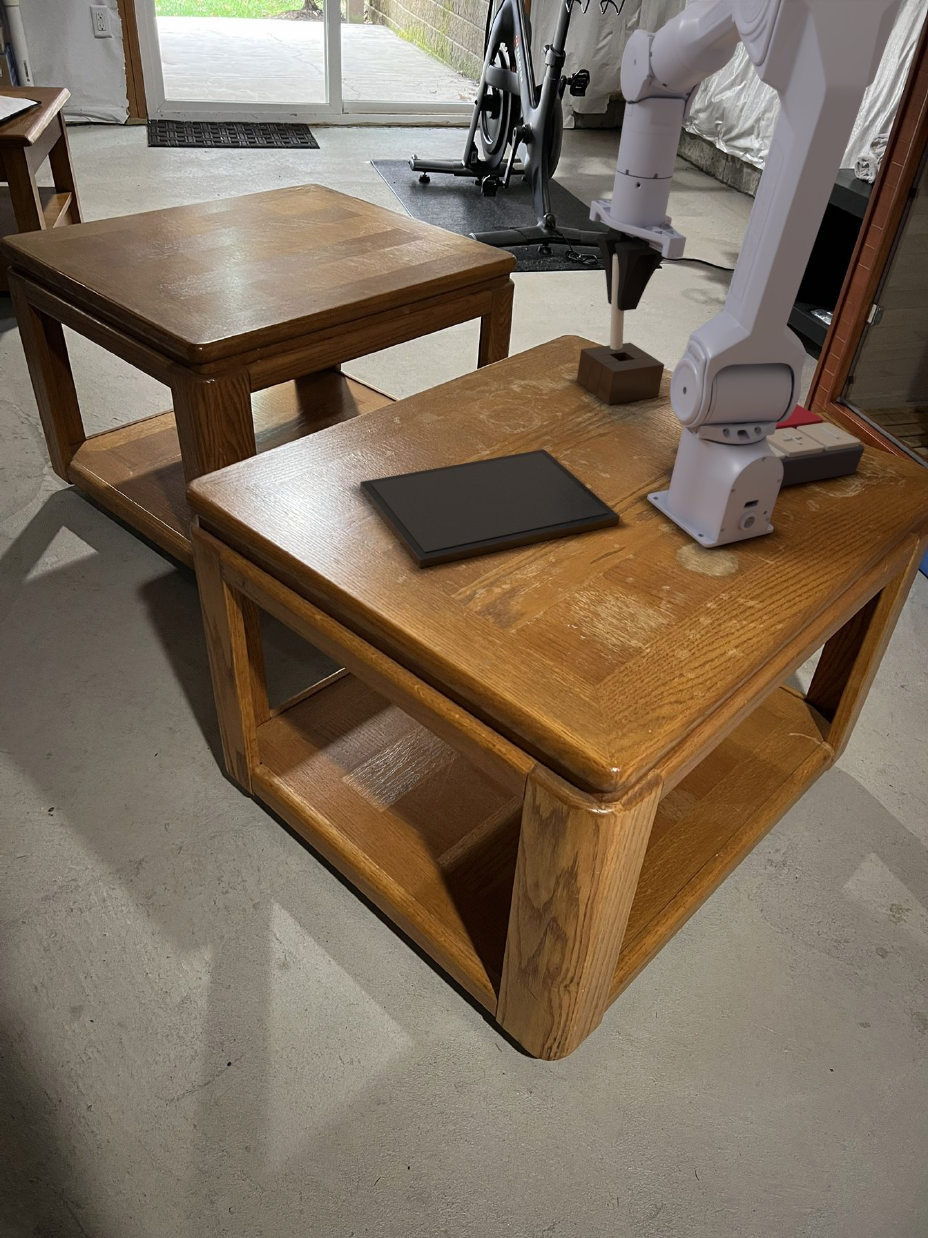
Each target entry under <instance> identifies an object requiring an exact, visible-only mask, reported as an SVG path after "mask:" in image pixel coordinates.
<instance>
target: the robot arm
mask: <svg viewBox="0 0 928 1238" xmlns="http://www.w3.org/2000/svg"><path fill="white" fill-rule="evenodd" d="M901 3H902V0H688V6H687V7H686V8H685V9H683V10H682V11H680V13H678V14H677V15H676V16H674V17H671V18H670V19H668V20H667V21H666V23H665V25H663V26H662V27H661V28H659V29H658V30H657V31H656V32H648V31H647V30H646V29H640V28H639V29H635V30H634V31H633V33H632V34H631V35H630V36H629V38H628V40H627V41H626V44H625V47H624V50H623V54H622V60H621V64H620V89H621V93H622V97H623V99H624V100H625V107H624V108H625V109H624V114H623V115H624V116H623V122H622V128H621V135H620V142H619V147H618V148H619V149H618V155H617V161H616V162H617V163H616V169H615V176H614V182H613V189H612V196H611V200H608V199H598V200H591V202H590V203H591V204H590V211H589V218H588V219H589V220H590V221H592V222H600V223H602V224H604V225H606V226H608V227H609V230H607V232H606V233H599V234H597V236H596V243H597V246H598V248H599V251H600V254H601V259H602V261H603V267H604V273H605V281H606V282H605V283H606V294H607V303H608V304H609V305H611V301H612V268H613V255H614V254H615V253H617V257H618V264H619V286H618V297H617V305H618V309H619V310H621V311H624V312H627V311H634V310H637V308H638V305H639V304H640V301H641V299H642V297H643V295H644V292H645V290H646V287H647V285H648V283H649V282H650V280H651V278H652V277H653V275H654V273H655V271H656V270H657V268H658V267H659V265H660V264H661V263H662V262H663V261H664V259H676V258H683V257H684V252H685V247H686V241H687V236H685V235H683V234H681V233H679V232H678V231H677V230H676V229H675V227H673V226H672V220H673V217H671V216H669V215H667V209H668V205H669V204H668V203H669V199H670V193H671V187H672V182H673V176H674V171H675V166H676V160H677V154H678V149H679V143H680V138H681V133H682V128H683V126H684V125H686V124H687V123H688V120H689V119H690V116H691V115H690V114H691V110H692V105H693V103H694V100H695V99H696V97H697V95H698V93H699V90H700V88H701V85H702V82H703V81H705V80H706V79H708V78H709V77H711V76H712V75H714V74H716V73H718V72H719V71H720V70H722V69H723V68H725V67H726V66H727V65H728V64H729V63H730V62H731V60H732V59H733V57H734V55H735V53H736V50H737V48H738V44H739V43H741V42H742V44H743V47H744V49H745V51H746V53H747V55H748V57H749V60H750V61H751V63H752V66H753V68H754V70H755V72H756V74H757V76H758V78H759V81H760V82H763V83H764V84H766V85H768V86H769V87H771V88H772V89H773V90H775V91H776V93H777V95H778V99H779V102H780V109H779V114H778V116H777V121H776V123H775V124H776V125H775V127H774V131H773V135H772V139H771V141H770V145H769V148H768V152H767V154H766V159H765V162H764V166H763V169H762V172H761V177H760V180H759V184H758V187H757V190H756V194H755V197H754V201H753V204H752V208H751V211H750V213H749V217H748V222H747V224H746V229H745V232H744V235H743V239H742V242H741V246H740V249H739V253H738V257H737V260H736V264H735V266H734V270H733V273H732V276H731V280H730V284H729V288H728V291H727V295H726V298H725V302H724V305H723V309H722V310H721V312H719V313H718V314H716V315H715V316H714V317H712V318H711V319H709V320H708V321H706V322H705V323H703V324H702V325H701V326H698V328H696V329H695V330H694V331H693V332H691V333H690V334H689V338H688V341H687V344H686V347H685V349H684V352H683V354H682V356H681V357H680V359H679V360H678V362H677V364H676V365H675V366H674V369H673V371H672V375H671V377H670V385H669V397H670V398H669V399H670V405H671V408H672V412H673V414H674V416H675V418H676V419H677V421H678V422H679V423H680V424H681V425H682V430H681V434H680V439H679V444H678V448H677V452H676V456H675V461H674V466H673V469H672V470H673V471H672V475H671V479H670V484H669V489H665V490H661V491H656V492H652V493H649V494H647V497H646V499H647V501H648V502H649V503H651V504H652V505H653V506H654V507H656V508H657V509H658V510H659V511H661V512H662V513H663V514H664V515H665V516H667V517H668V518H669V519H670V520H671V521H672V522H673V523H675V524H676V525H677V526H679V528H681V529H682V530H683V531H684V532H686V533H687V534H688V535H689V536H691V537H692V538H693V539H694V540H695V541H696V542H698V543H699V544H700V545H701V546H703V548H713V547H718V546H722V545H725V544H729V543H730V544H731V543H734V542H738V541H743V540H746V539H750V538H755V537H758V536H763V535H767V534H771V533H773V532H774V529H775V528H774V525H772V524H771V523H770V522H771V518H772V515H773V512H774V509H775V505H776V502H777V499H778V495H779V492H780V489H781V488H780V486H781V482H782V479H783V473H784V471H783V464H782V462H781V460H780V459H779V458H778V457H777V456H776V455H775V454H774V452H773V451H772V450H771V448H770V446H769V444H768V442H767V437H766V436H768V435H773V434H774V432H775V429H776V425H777V423H781V422H784V421H785V420H787V419H788V418H789V417H790V416H791V414H792V413H793V411H794V409H795V407H796V405H797V404H799V400H800V396H801V393H802V375H803V370H804V365H805V362H806V359H807V357H808V354H807V351H806V349H805V347H804V344H803V342H802V341H801V339H800V338H799V337H798V336H797V334H796V333H795V332H794V331H793V330H792V329H791V328H790V327H789V326H788V325H787V324H788V322H789V318H790V316H791V313H792V310H793V307H794V304H795V301H796V298H797V295H798V292H799V290H800V286H801V284H802V280H803V277H804V275H805V271H806V268H807V265H808V263H809V259H810V257H811V253H812V251H813V248H814V245H815V242H816V239H817V236H818V232H819V230H820V228H821V224H822V221H823V218H824V215H825V212H826V210H827V206H828V204H829V200H830V198H831V195H832V192H833V189H834V186H835V183H836V180H837V178H838V174H839V171H840V168H841V165H842V162H843V160H844V157H845V154H846V150H847V147H848V145H849V141H850V138H851V135H852V133H853V130H854V127H855V124H856V121H857V118H858V116H859V112H860V109H861V106H862V103H863V100H864V96H865V94H866V90H867V88H868V87H870V86H871V85H872V84H873V83H874V82H875V79H876V77H877V73H878V70H879V68H880V65H881V61H882V59H883V56H884V53H885V50H886V48H887V44H888V41H889V40H890V39H889V38H890V37H891V33H892V30H893V27H894V24H895V21H896V18H897V15H898V13H899V9H900V6H901Z"/></svg>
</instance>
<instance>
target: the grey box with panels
mask: <svg viewBox="0 0 928 1238" xmlns="http://www.w3.org/2000/svg"><path fill="white" fill-rule="evenodd" d="M766 437H767V442H768V444H769V446H770V448H771V450H772V451H773V452H774V454H775V455H776V456H777V457H778V458H779V459H780V460H781V462H782V464H783V471H784V473H783V479H782V482H781V486H780V489H781V488H783V487H784V486H789V485H797V484H801V483H806V482H813V481H818V480H824V479H830V478H835V477H841V476H845V475H852V474H855V473H856V471H857V470H858V467H859V464H860V462H861V459H862V457H863V454H864V451H865V445H862V444H861V440H860V439H859V438H857V437H855V436H854V435H852V434H850V433H848V432H846V431H845V430H843V429H842V428H840V427H838V426H836V425H835V424H832V423H830V422H824V418H822V417H821V416H819V415H817V414H815V413H813V412H812V411H810V410H808V409H806V408H805V407H803V406H802V405H800V404H799V403H797V405H796V407H795V409H794V411H793V413H792V414H791V416H790V417H789V418H788V419H787V420H785V421H784V422H781V423H777V425H776V429H775V432H774V434H773V435H768V436H766Z"/></svg>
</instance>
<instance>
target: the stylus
mask: <svg viewBox="0 0 928 1238" xmlns="http://www.w3.org/2000/svg"><path fill="white" fill-rule="evenodd" d="M618 286H619V264H618V257H617V253H615V254H614V255H613V268H612V301H611V304H610V305H611V306H610V337H609V345H610V348H611V349H613V351H614V352H615V353H617V352H619V350H620V349H621V348H622V347H623V343H624V321H625V311H621V310H619V309H618V305H617V297H618Z"/></svg>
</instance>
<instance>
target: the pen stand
mask: <svg viewBox="0 0 928 1238" xmlns="http://www.w3.org/2000/svg"><path fill="white" fill-rule="evenodd" d="M664 369H665V364H664V363H663V362H662V361H660V360H659V359H657V358H656V357H654V356H653V355H651V354H649V353H648V352H646V351H644V350H643V349H642V348H640V347H638V346H637V345H635V344H634V343H632V342H623V347H622V348H621V349H620V350H619V352H617V353H615V352H614V351H613V349H611V348H610V344H609V345H608V344H607V345H601V346H594V347H593V346H592V347H587V348H581V349H580V356H579V361H578V369H577V376H576V382H577V383H578V384H579V385H581V386H582V387H584V388H585V389H586V390H588V391H589V392H590V393H591V394H593V395H594V396H596V397H597V398H599V399H600V400H601V401H603V402H604V403H605V404H607V405H608V406H609V405H617V404H623V403H628V402H635V401H641V400H647V399H653V398H658V397H659V395H660V389H661V385H662V379H663V374H664Z"/></svg>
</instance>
